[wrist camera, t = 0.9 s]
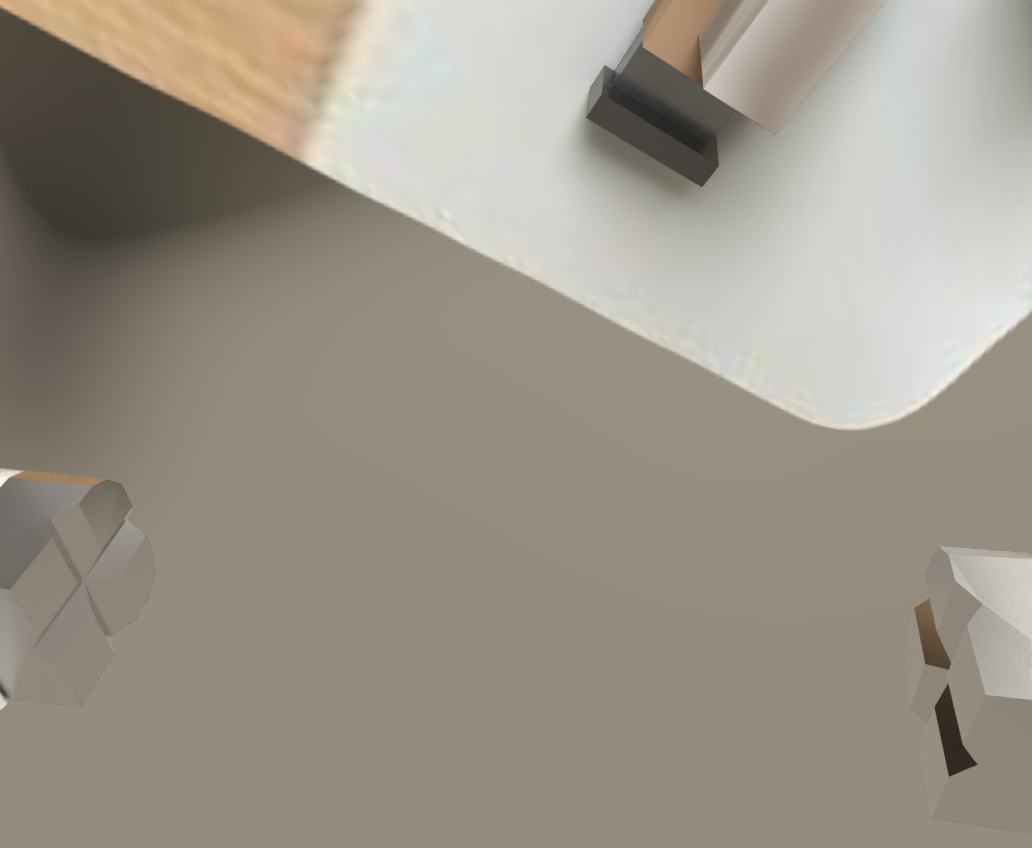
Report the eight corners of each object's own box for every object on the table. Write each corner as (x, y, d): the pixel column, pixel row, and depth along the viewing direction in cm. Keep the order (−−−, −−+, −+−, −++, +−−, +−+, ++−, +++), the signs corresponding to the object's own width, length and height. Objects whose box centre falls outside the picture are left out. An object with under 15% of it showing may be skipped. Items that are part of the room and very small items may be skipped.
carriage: (643, 18, 37) (640, 102, 31) (775, -185, 32) (801, -130, 26) (761, 95, 38) (780, 189, 32) (905, -87, 33) (958, -14, 27)
